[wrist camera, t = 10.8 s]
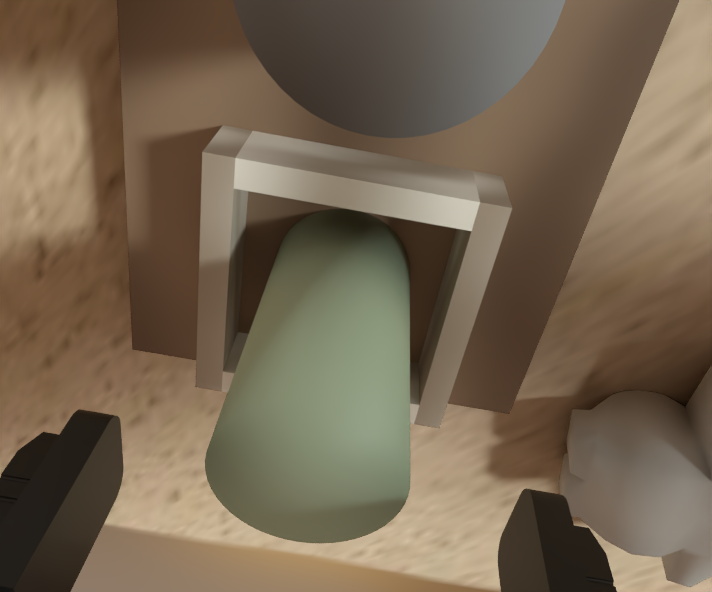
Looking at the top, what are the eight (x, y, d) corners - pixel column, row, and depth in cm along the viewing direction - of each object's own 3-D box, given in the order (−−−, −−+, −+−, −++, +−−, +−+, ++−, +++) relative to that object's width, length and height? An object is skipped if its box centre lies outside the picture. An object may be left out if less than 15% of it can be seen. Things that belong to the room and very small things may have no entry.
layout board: (757, -264, 13) (1307, -497, 5) (503, 384, 23) (554, 650, 15) (129, -394, 13) (-349, -870, 5) (147, 323, 22) (5, 562, 15)
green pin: (422, 222, 18) (431, 423, 11) (395, 332, 20) (388, 556, 13) (284, 196, 18) (208, 385, 11) (271, 311, 20) (202, 525, 13)
